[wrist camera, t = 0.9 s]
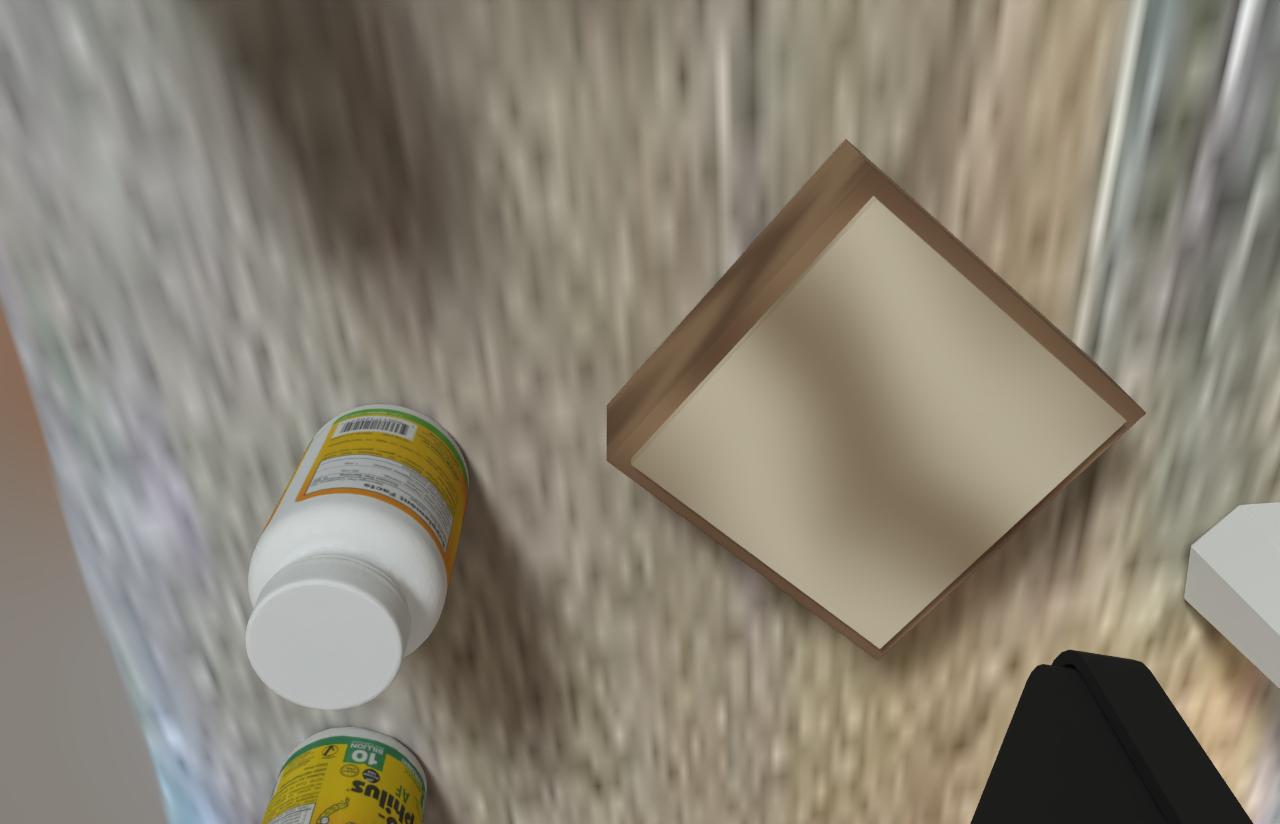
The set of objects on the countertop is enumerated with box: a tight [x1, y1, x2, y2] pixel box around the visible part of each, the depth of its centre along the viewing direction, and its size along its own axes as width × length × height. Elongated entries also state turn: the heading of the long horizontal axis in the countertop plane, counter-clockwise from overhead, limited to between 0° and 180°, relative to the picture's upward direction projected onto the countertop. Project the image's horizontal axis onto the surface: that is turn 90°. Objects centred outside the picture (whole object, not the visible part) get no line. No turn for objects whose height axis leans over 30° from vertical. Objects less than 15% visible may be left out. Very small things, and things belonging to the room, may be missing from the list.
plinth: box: [607, 139, 1146, 660], centre depth 36 cm, size 11×11×4 cm
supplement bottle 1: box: [246, 404, 469, 710], centre depth 35 cm, size 5×5×10 cm
